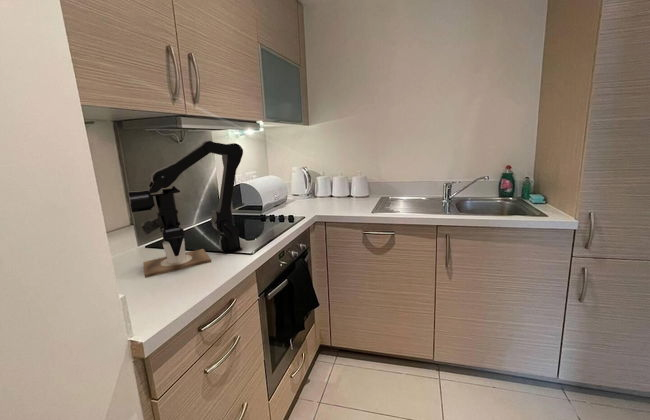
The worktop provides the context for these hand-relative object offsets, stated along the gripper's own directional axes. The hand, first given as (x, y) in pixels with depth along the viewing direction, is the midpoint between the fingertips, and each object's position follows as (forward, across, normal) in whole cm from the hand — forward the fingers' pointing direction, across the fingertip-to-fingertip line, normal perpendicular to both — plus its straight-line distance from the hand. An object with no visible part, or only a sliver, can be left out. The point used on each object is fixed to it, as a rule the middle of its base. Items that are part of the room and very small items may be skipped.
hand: (175, 252), depth 111 cm
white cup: (+3, 0, 0) cm, 3 cm away
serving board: (+4, 0, 0) cm, 4 cm away
